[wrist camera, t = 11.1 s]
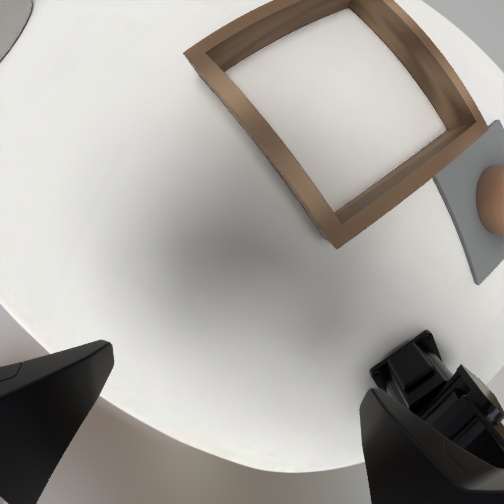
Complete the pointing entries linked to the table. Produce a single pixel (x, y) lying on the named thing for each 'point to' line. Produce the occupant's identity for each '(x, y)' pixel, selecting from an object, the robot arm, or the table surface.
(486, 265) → the slate mat
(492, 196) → the terracotta pot
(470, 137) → the brown wooden square frame
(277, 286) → the table surface
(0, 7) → the cylinder vase
